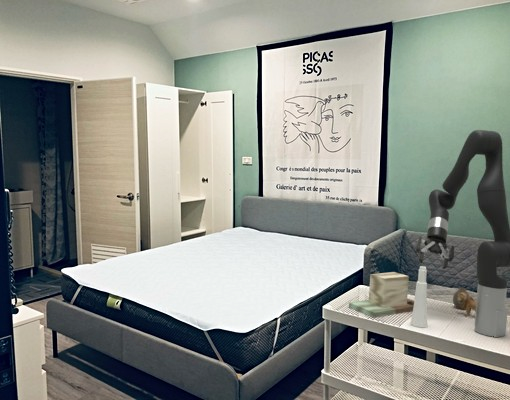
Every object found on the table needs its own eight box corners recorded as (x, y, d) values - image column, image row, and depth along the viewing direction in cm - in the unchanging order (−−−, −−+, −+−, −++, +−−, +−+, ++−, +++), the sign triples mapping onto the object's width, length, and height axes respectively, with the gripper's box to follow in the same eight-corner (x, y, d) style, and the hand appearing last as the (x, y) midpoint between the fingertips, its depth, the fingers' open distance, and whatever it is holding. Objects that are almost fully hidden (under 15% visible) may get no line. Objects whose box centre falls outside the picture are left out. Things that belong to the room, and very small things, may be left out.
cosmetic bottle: (409, 321, 168) (413, 264, 167) (426, 323, 167) (430, 266, 166) (410, 326, 162) (415, 267, 161) (428, 328, 161) (432, 269, 160)
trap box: (425, 309, 186) (425, 304, 186) (373, 317, 171) (374, 312, 171) (399, 300, 198) (399, 295, 198) (348, 307, 183) (349, 302, 183)
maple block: (406, 304, 184) (408, 276, 184) (383, 308, 177) (384, 278, 177) (392, 299, 191) (393, 272, 191) (368, 302, 184) (370, 274, 183)
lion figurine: (453, 314, 181) (455, 292, 181) (459, 311, 185) (460, 290, 184) (492, 323, 170) (494, 301, 170) (497, 321, 174) (498, 298, 174)
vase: (454, 309, 188) (455, 289, 187) (450, 305, 194) (452, 285, 194) (471, 311, 186) (473, 291, 186) (467, 306, 193) (469, 287, 192)
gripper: (422, 221, 179) (416, 255, 170) (458, 231, 175) (454, 266, 167) (417, 231, 185) (411, 264, 176) (452, 240, 182) (448, 274, 173)
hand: (432, 265), depth 172 cm, fingers open, 8 cm apart
